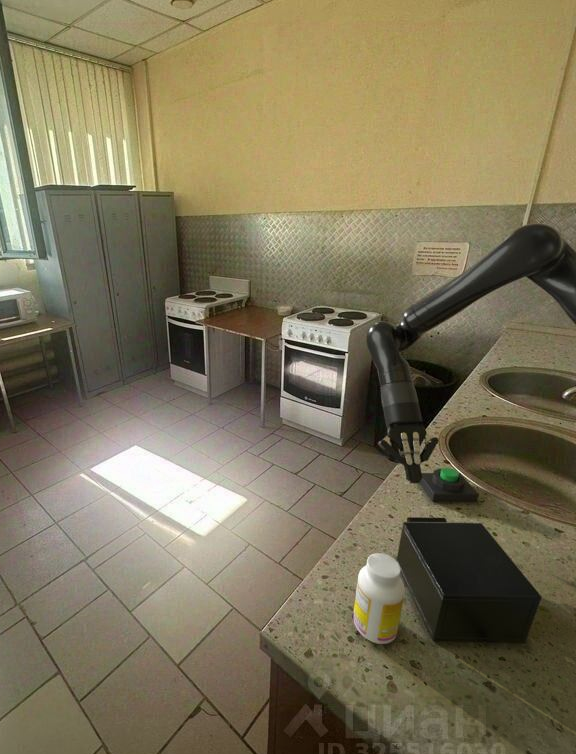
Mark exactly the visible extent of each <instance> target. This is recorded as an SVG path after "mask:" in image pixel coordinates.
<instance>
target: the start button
mask: <svg viewBox="0 0 576 754" xmlns="http://www.w3.org/2000/svg"><path fill="white" fill-rule="evenodd" d="M440 469H441V473H440V478H442V479H443V480H445V481H449V482H457V480H458V476H459V473H460V472H458V471H457V470H456V469H454V468H452V467H442V468H440Z"/></svg>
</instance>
